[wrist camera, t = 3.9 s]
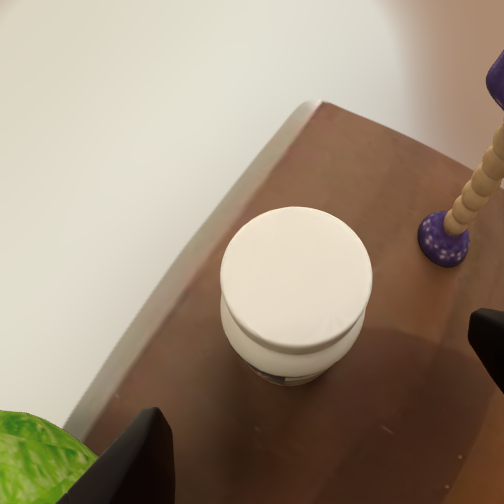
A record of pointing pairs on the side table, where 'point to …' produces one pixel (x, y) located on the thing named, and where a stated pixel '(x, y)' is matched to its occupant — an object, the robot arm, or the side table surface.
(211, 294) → the side table surface
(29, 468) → the lettuce
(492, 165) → the toy lamp
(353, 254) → the pill bottle
